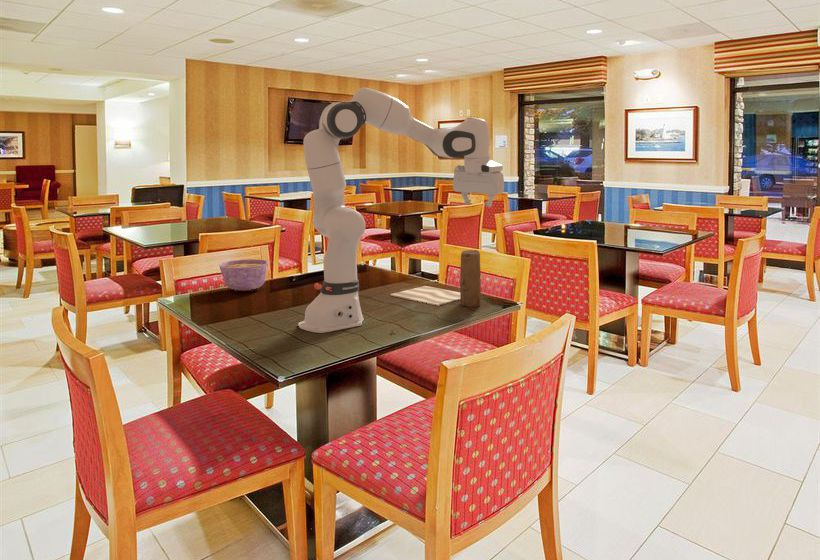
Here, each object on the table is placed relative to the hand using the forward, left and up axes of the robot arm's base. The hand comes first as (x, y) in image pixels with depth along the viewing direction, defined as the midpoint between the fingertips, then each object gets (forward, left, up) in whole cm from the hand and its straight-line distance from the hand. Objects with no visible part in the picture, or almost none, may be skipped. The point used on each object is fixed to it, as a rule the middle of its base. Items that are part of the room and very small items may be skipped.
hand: (478, 205), depth 217 cm
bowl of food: (-41, +92, -37) cm, 107 cm away
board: (+2, +25, -37) cm, 44 cm away
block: (+2, +5, -37) cm, 37 cm away
